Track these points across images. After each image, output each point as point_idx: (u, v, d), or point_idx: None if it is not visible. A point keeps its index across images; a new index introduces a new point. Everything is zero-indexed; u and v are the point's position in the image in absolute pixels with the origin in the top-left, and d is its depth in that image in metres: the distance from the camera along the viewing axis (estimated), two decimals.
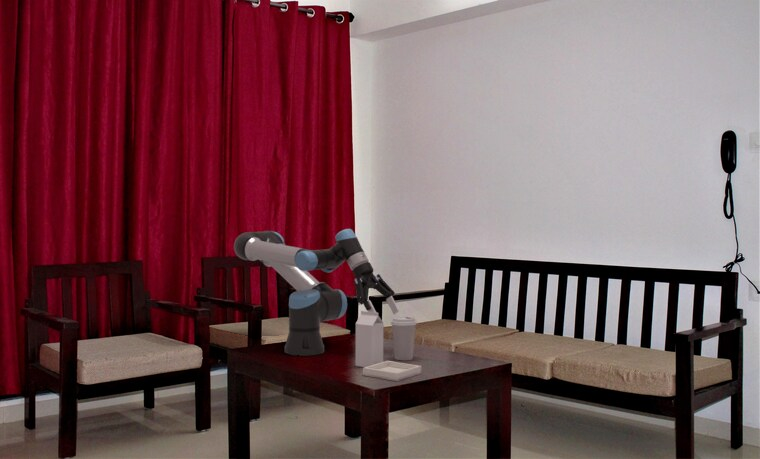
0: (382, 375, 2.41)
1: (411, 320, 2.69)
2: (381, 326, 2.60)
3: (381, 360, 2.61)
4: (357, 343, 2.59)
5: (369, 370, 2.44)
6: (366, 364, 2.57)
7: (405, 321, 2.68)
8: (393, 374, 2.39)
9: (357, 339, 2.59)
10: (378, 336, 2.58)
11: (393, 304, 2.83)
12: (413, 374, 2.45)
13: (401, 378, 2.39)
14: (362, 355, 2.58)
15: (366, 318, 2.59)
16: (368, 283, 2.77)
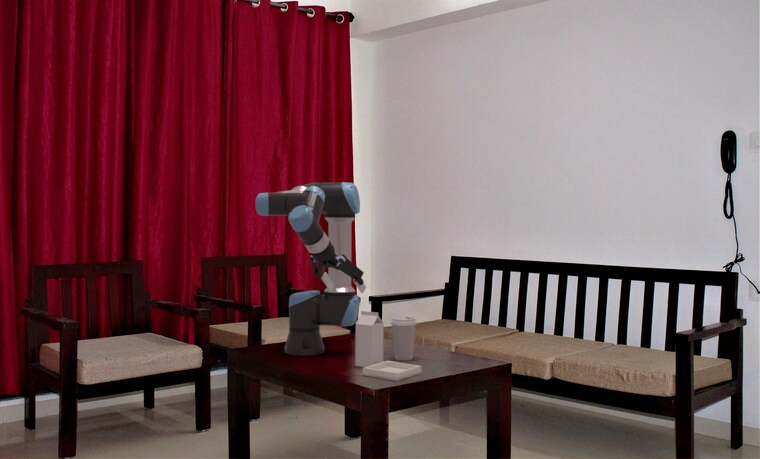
0: (382, 375, 2.41)
1: (411, 320, 2.69)
2: (381, 326, 2.60)
3: (381, 360, 2.61)
4: (357, 343, 2.59)
5: (369, 370, 2.44)
6: (366, 364, 2.57)
7: (405, 321, 2.68)
8: (393, 374, 2.39)
9: (357, 339, 2.59)
10: (378, 336, 2.58)
11: None
12: (413, 374, 2.45)
13: (401, 378, 2.39)
14: (362, 355, 2.58)
15: (366, 318, 2.59)
16: (321, 266, 2.46)
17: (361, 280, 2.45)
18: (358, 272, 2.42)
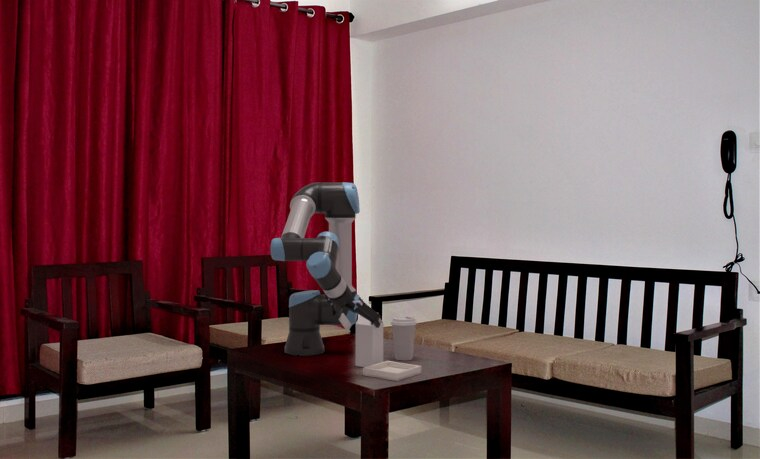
0: (382, 375, 2.41)
1: (411, 320, 2.69)
2: None
3: (381, 360, 2.61)
4: (357, 343, 2.59)
5: (369, 370, 2.44)
6: (366, 364, 2.57)
7: (405, 321, 2.68)
8: (393, 374, 2.39)
9: (357, 339, 2.59)
10: (378, 336, 2.58)
11: None
12: (413, 374, 2.45)
13: (401, 378, 2.39)
14: (362, 355, 2.58)
15: None
16: (338, 309, 2.50)
17: (378, 323, 2.49)
18: (375, 315, 2.46)
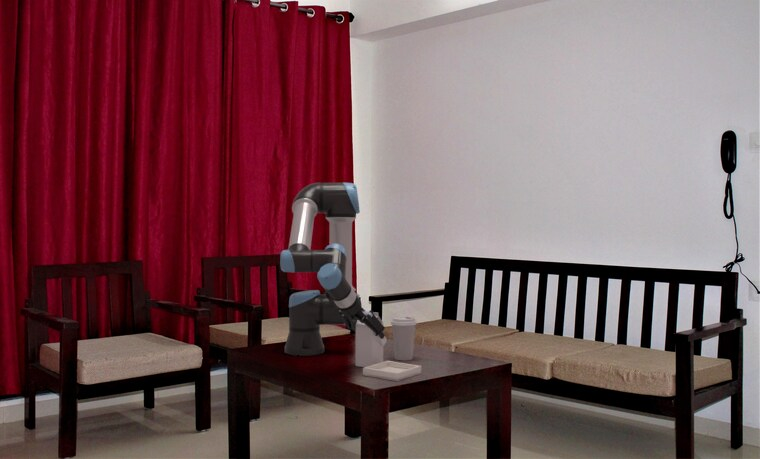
0: (382, 375, 2.41)
1: (411, 320, 2.69)
2: None
3: (381, 360, 2.61)
4: (357, 343, 2.59)
5: (369, 370, 2.44)
6: (366, 364, 2.57)
7: (405, 321, 2.68)
8: (393, 374, 2.39)
9: (357, 339, 2.59)
10: None
11: None
12: (413, 374, 2.45)
13: (401, 378, 2.39)
14: (362, 355, 2.58)
15: None
16: (350, 320, 2.55)
17: (382, 334, 2.57)
18: (381, 327, 2.53)
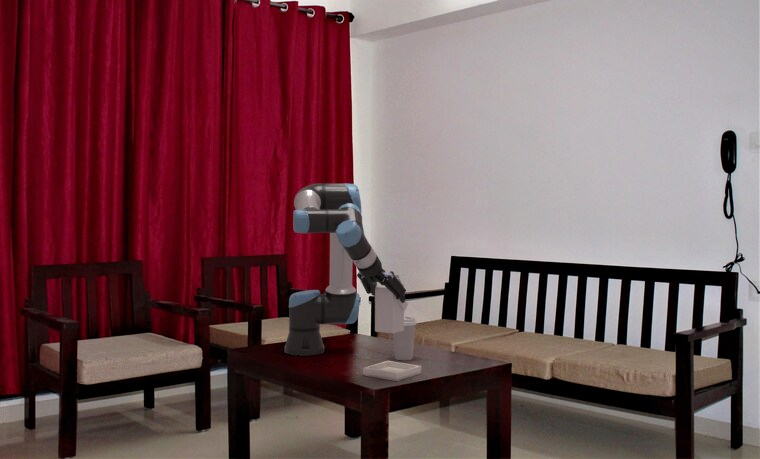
0: (382, 375, 2.41)
1: (411, 320, 2.69)
2: None
3: (402, 326, 2.48)
4: (377, 307, 2.46)
5: (369, 370, 2.44)
6: (386, 329, 2.44)
7: (405, 321, 2.68)
8: (393, 374, 2.39)
9: (376, 303, 2.46)
10: None
11: None
12: (413, 374, 2.45)
13: (401, 378, 2.39)
14: (382, 320, 2.45)
15: None
16: (370, 282, 2.42)
17: (403, 298, 2.44)
18: (402, 290, 2.40)
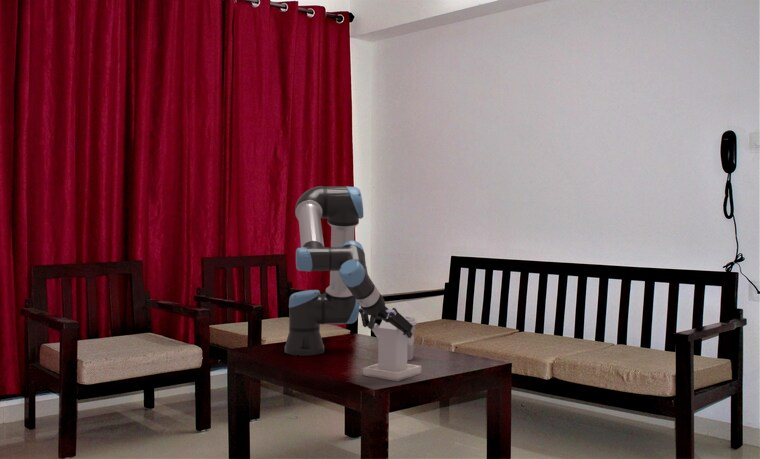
0: (382, 375, 2.41)
1: (411, 320, 2.69)
2: None
3: (405, 367, 2.47)
4: (380, 348, 2.46)
5: (369, 370, 2.44)
6: (389, 370, 2.44)
7: None
8: (393, 374, 2.39)
9: (380, 344, 2.46)
10: (402, 341, 2.45)
11: None
12: (413, 374, 2.45)
13: (401, 378, 2.39)
14: (385, 361, 2.44)
15: None
16: (371, 318, 2.42)
17: (410, 333, 2.42)
18: (408, 326, 2.38)
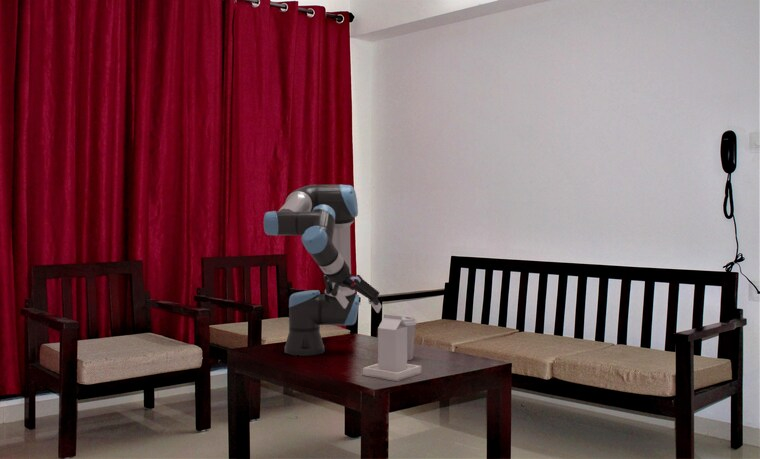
0: (382, 375, 2.41)
1: (411, 320, 2.69)
2: (405, 330, 2.47)
3: (405, 367, 2.47)
4: (379, 348, 2.46)
5: (369, 370, 2.44)
6: (389, 370, 2.44)
7: (405, 321, 2.68)
8: (393, 374, 2.39)
9: (379, 344, 2.46)
10: (401, 341, 2.45)
11: None
12: (413, 374, 2.45)
13: (401, 378, 2.39)
14: (385, 361, 2.44)
15: (389, 322, 2.46)
16: (335, 286, 2.38)
17: (377, 300, 2.38)
18: (374, 292, 2.34)
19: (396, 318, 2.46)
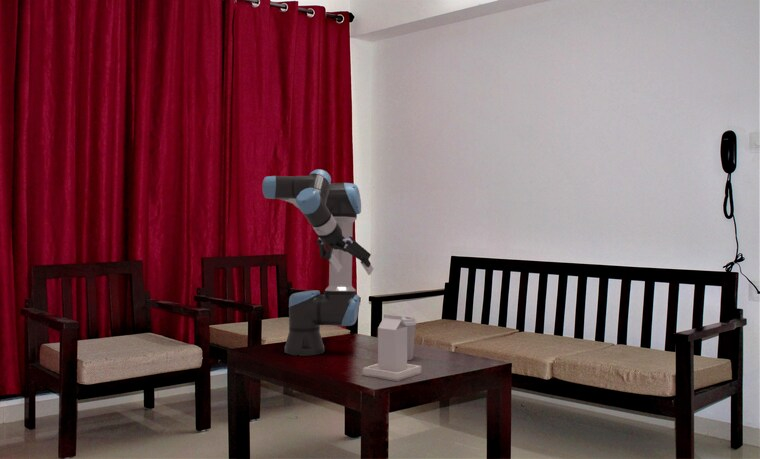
0: (382, 375, 2.41)
1: (411, 320, 2.69)
2: (405, 330, 2.47)
3: (405, 367, 2.47)
4: (379, 348, 2.46)
5: (369, 370, 2.44)
6: (389, 370, 2.44)
7: (405, 321, 2.68)
8: (393, 374, 2.39)
9: (379, 344, 2.46)
10: (401, 341, 2.45)
11: None
12: (413, 374, 2.45)
13: (401, 378, 2.39)
14: (385, 361, 2.44)
15: (389, 322, 2.46)
16: (329, 248, 2.49)
17: (368, 262, 2.48)
18: (365, 254, 2.45)
19: (396, 318, 2.46)
